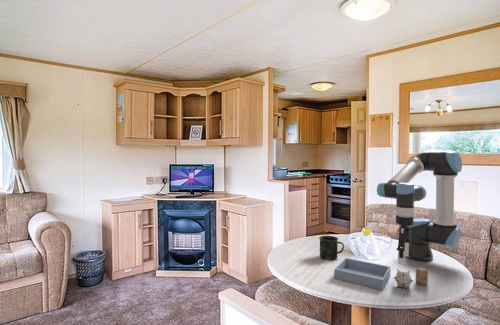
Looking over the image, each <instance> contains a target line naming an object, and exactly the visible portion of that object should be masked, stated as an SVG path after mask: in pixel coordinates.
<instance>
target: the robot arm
mask: <svg viewBox="0 0 500 325" xmlns="http://www.w3.org/2000/svg"><path fill="white" fill-rule="evenodd" d="M462 168H463V161H462V157H461V155H460V153H458V152H457V151H453V150H426V151H422V152H418V153H417V154H415V155H413V156H411V157H410V158H409V159H408V160H407V161H406V164H405V165H404V166H403V167H402V168H401V169H400V170H399V171H398V172H397V173H395V175H394V176H392V177H391V178H390V179H389V180H388V181H387V182H379V183H378V185H377V186H376V192H377V194H376V195H377V196H379V197H381V198H385V199H387V198H388V199H395V200H396V203H395V207H394V210H396V211H395V224H397V225H400V227H398V228H399V229H398V232H399V233H398V241H397V247H396V248H395V250H396V251H398V252H397V253H398V254H397V264H398V265H400V266H401V265H402V266H405V265H406V264H405V263H406V258H407V259H411V260H412V261H413V260H415V261H420V262H431V261H432V260H434V254H433V251H432V248H431V245H430V244H435V245H439V246H443V247H449V248H455V247H456V246H457V245H458V244H459V243H460V239H461V236H462V229H461V227H458V226H457V225H458V223H457V222H456V221H455V220H454V219H455V215H454V212H455V210H454V209H455V178H456V177H457V176H458V175H459V174H458V173H461V171H462ZM426 171H430V172H432V174H433V176H434V177H435V178H436V179H435V180H436V181H435V182H436V184H435V219H433V220H432V221H431V219H428V218H415V217H414V215H415V202H419V201H422V200H424V199H425V198H426V195H427V189H425V188H424V187H423V186H422V185H416V184H415V185H414V183H410V182H411V181H412V180H413V179H414V178H415V176H416V175H417V174H420V173H422V172H426Z"/></svg>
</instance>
